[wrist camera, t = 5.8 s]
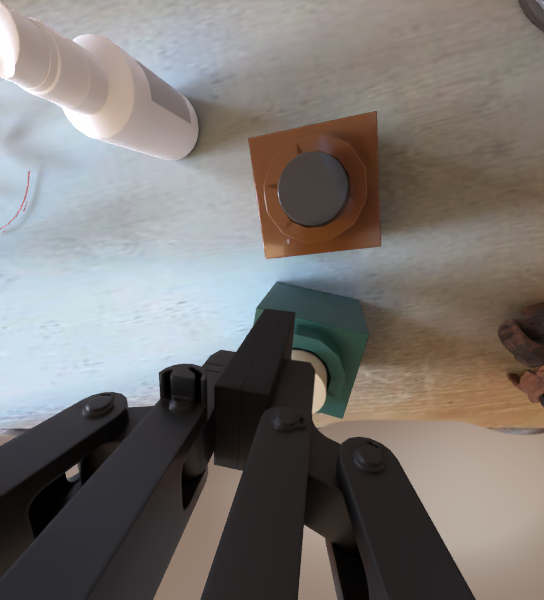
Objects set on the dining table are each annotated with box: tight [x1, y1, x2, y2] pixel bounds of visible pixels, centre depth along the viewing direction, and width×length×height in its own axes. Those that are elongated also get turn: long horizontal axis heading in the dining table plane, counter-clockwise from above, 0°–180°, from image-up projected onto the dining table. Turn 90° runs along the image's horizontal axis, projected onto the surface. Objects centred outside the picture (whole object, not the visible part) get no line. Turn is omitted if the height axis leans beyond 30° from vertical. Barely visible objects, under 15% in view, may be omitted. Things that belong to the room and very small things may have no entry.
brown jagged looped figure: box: [498, 303, 544, 407], centre depth 29 cm, size 12×10×8 cm
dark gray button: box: [278, 151, 348, 225], centre depth 21 cm, size 5×5×3 cm
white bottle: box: [0, 1, 199, 161], centre depth 24 cm, size 7×7×18 cm
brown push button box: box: [248, 111, 381, 259], centre depth 27 cm, size 10×10×10 cm
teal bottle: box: [253, 282, 369, 419], centre depth 30 cm, size 10×9×12 cm
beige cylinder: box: [291, 350, 327, 414], centre depth 24 cm, size 5×5×3 cm
